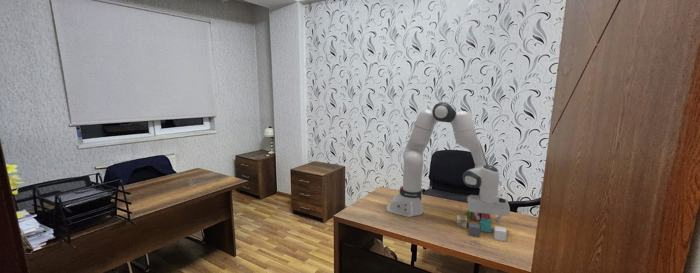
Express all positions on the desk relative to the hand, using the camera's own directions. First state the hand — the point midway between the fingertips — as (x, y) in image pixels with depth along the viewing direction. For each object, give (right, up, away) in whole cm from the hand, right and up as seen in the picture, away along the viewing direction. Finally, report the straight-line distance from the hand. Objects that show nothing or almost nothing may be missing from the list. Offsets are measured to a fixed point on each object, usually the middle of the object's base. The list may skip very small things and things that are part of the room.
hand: (487, 220), depth 153 cm
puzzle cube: (+2, -2, +16) cm, 17 cm away
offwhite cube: (+2, -6, -8) cm, 10 cm away
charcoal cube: (-9, -6, -4) cm, 11 cm away
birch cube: (-12, -4, +5) cm, 14 cm away
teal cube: (-1, -5, +1) cm, 5 cm away
